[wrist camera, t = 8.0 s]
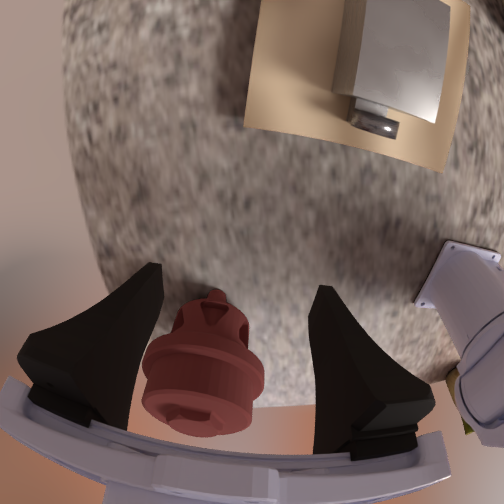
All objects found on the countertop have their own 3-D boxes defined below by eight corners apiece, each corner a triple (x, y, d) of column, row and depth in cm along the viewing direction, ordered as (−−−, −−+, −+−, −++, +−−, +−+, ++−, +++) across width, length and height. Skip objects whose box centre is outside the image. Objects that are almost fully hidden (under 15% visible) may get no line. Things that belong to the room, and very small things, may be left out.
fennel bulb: (465, 356, 32) (490, 418, 22) (474, 362, 34) (497, 419, 24) (438, 377, 35) (457, 438, 25) (448, 381, 36) (467, 438, 26)
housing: (414, -1, 10) (450, -16, 6) (392, 135, 15) (427, 152, 11) (347, -26, 9) (371, -53, 6) (326, 117, 15) (345, 128, 11)
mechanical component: (166, 334, 30) (165, 263, 25) (254, 350, 31) (276, 284, 25) (137, 433, 20) (114, 382, 14) (249, 453, 20) (279, 413, 15)
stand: (452, 9, 10) (470, 5, 8) (426, 163, 18) (442, 173, 16) (272, -51, 10) (273, -66, 8) (246, 121, 18) (243, 126, 16)
